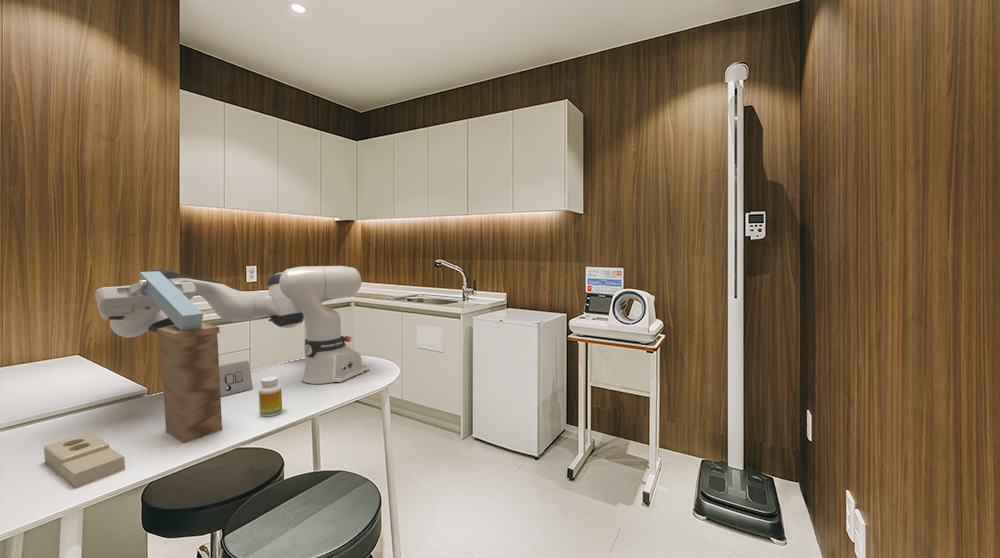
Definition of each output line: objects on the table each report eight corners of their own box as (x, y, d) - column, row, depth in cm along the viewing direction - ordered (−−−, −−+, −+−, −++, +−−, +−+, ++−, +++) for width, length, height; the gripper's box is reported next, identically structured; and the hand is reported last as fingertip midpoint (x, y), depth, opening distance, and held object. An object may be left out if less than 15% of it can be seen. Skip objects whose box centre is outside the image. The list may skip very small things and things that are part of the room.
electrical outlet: (74, 469, 75) (43, 445, 83) (75, 489, 75) (44, 464, 83) (123, 452, 81) (90, 431, 89) (125, 471, 81) (91, 448, 90)
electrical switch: (218, 398, 119) (216, 367, 119) (213, 395, 122) (210, 365, 122) (253, 389, 126) (251, 360, 126) (247, 387, 130) (245, 359, 129)
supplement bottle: (285, 412, 109) (283, 378, 108) (263, 419, 105) (261, 383, 104) (278, 407, 113) (277, 374, 112) (257, 413, 109) (255, 378, 108)
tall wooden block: (206, 419, 104) (200, 322, 102) (224, 429, 99) (219, 326, 97) (163, 432, 97) (156, 328, 95) (180, 444, 91) (174, 333, 89)
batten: (158, 284, 107) (159, 271, 106) (201, 328, 95) (203, 313, 94) (139, 286, 103) (140, 272, 102) (181, 331, 92) (182, 315, 91)
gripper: (190, 309, 117) (207, 289, 110) (93, 320, 100) (106, 297, 93) (184, 290, 118) (201, 269, 111) (87, 298, 101) (100, 273, 94)
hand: (157, 281), depth 102 cm, fingers closed on batten, 4 cm apart
